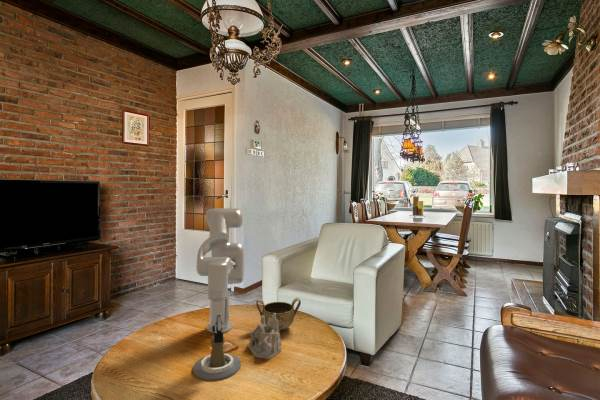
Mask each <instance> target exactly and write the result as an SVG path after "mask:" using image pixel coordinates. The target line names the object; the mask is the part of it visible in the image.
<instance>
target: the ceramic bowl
mask: <svg viewBox="0 0 600 400" xmlns="http://www.w3.org/2000/svg"><path fill="white" fill-rule="evenodd" d="M296 302H298V303H297V305H296V307H295V304H296ZM259 303H261V304H262V310H261V308H260V306H259ZM301 303H302V301H301V298H299V297H295V298H293V300H292V302H291V303H289V302H286V301H272V302H268V303H266V304H265V302H264V300H263V299H262V298H258V299H257V300H256V303H255V305H256V308H257V309H258V313H259V315H260V317H261V316H265V324H266V326H267V322H268V318H271V317H272V315H273V314H274V313H276V320H278V323H279V332H280V331H284V330H287V329H288V328H290V327H291V326H292V324H293V323H294V319H295V317H296V314H297V313H298V310H299V309H300V306H301ZM294 307H295V308H294Z"/></svg>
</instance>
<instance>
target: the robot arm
mask: <svg viewBox="0 0 600 400" xmlns="http://www.w3.org/2000/svg"><path fill="white" fill-rule="evenodd" d="M205 219H206V222H207V226H208V228H209V237H208V238H207V239H205V240H204V241H203V242H202V244H201V245H200V247H198V251H197V255H196V256H197V257H196V265H195V266H196V273H197V274H198V276H200V277H201V276H202V277H207V299H208V300H209V323H208V324H207V325H206V331H207V332H209V333H211V334H213V336H214V343H220V342H223V337H224V333H227V332H229V331H230V330H232V328H233V323H232V322H230V291H229V285H238V284H241V283H243V281H244V280H245V260H244V259H245V255H244V254H245V253H244V247H243V245H242V244H241V243H239V242H230V228H231V229H232V228H233V229H238V228H241V227H242V225H243V219H244V218H243V213H242V211H241V209H240V208H238V207H237V208H235V207H234V208H233V207H231V208H229V207H228V208H227V207H226V208H224V207H222V208H221V207H219V208H218V207H216V208H210V209H207V211H206V213H205ZM210 251H211V252H210ZM209 252H210V253H211V254H210V255H211V256H206V255H207V254H208V253H209ZM205 256H206V257H205ZM233 263H234V264H233Z"/></svg>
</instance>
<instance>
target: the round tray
mask: <svg viewBox="0 0 600 400" xmlns="http://www.w3.org/2000/svg"><path fill="white" fill-rule="evenodd" d="M224 357H225V365H224V366H223V367H218V368H211V367H210V358H211V354H209V355H205V356H203V357H201V358H199V359H198V360H197V361H196V362H195V363H194V365H193V367H192V372H193V375H194V376H195V377H197V378H198V379H201V380H203V381H219V380H224V379H227V378H230V377H232V376H234V375H236V374H237V373H238V372H239V371H240V370H241V365H242V363H241V362H242V361H241V359H240V358H239V357H238V356H237V355H236V354H235V355H234V354H231V353H226V352H224Z"/></svg>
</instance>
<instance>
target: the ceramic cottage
mask: <svg viewBox="0 0 600 400" xmlns="http://www.w3.org/2000/svg"><path fill="white" fill-rule="evenodd" d="M248 348H249V350H250V351H251V353H252V354H253V356H254V357H256V358H258V359H265V360H269V359H270V360H271V359H272V358H274V357H276V356H277V355H279V354H280V353H281V352H282V350H283V347H282V340H281V334H280V331H279V323H278V320H276V313H274V314H273V315H272V317H271V318H268V322H267V326H266V324H265V316H261V315H260V321H259V324H258V325H257V326H256V327H255V328H254V329H253V330H252V331H251V332H250V339H249V342H248Z"/></svg>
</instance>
